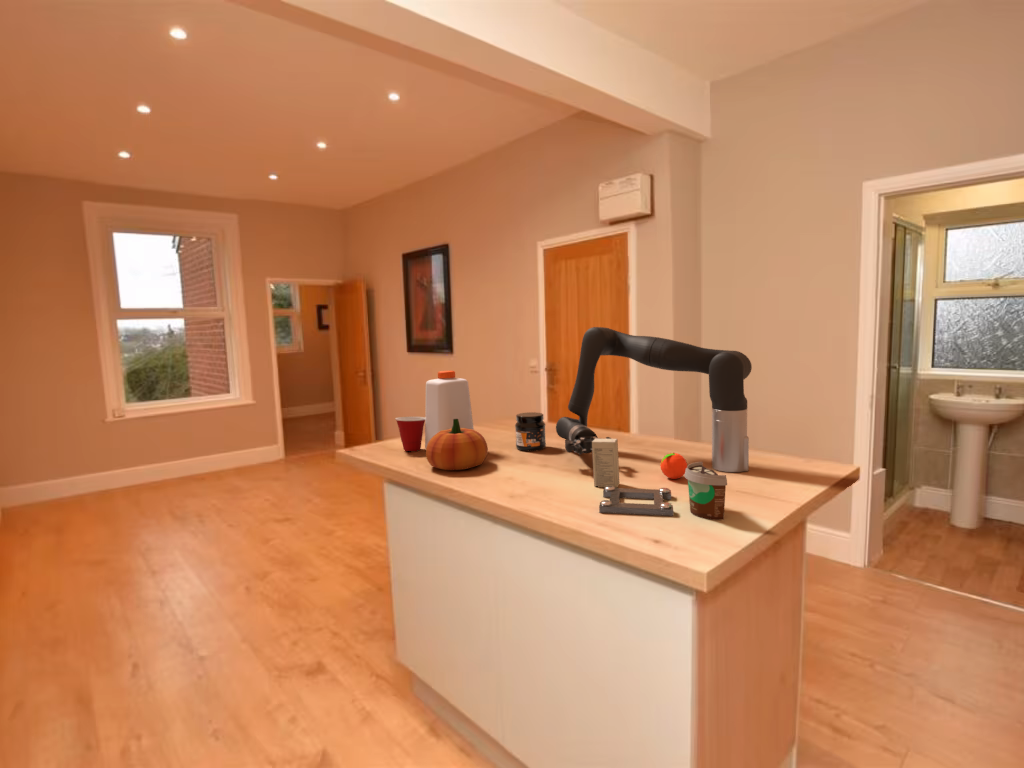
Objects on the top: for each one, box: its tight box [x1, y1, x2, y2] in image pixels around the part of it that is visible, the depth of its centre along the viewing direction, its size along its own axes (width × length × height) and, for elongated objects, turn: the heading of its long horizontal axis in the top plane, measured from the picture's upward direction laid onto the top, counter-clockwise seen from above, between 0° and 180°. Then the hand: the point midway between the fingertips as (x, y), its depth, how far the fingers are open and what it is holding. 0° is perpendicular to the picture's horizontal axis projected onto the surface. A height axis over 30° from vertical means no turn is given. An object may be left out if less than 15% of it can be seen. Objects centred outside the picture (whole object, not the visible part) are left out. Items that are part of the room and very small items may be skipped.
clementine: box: [659, 452, 688, 480], centre depth 144 cm, size 8×7×7 cm
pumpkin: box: [425, 419, 489, 471], centre depth 166 cm, size 19×19×15 cm
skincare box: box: [591, 438, 620, 488], centre depth 140 cm, size 6×4×12 cm
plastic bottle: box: [424, 370, 475, 450], centre depth 187 cm, size 15×15×28 cm
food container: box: [683, 461, 728, 521], centre depth 118 cm, size 12×6×10 cm, turn 5°
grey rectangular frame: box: [598, 486, 674, 517], centre depth 125 cm, size 16×14×2 cm
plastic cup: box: [394, 416, 425, 452], centre depth 191 cm, size 11×11×12 cm
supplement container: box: [514, 411, 547, 452], centre depth 186 cm, size 10×10×12 cm
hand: (595, 450), depth 151 cm, fingers open, 8 cm apart
